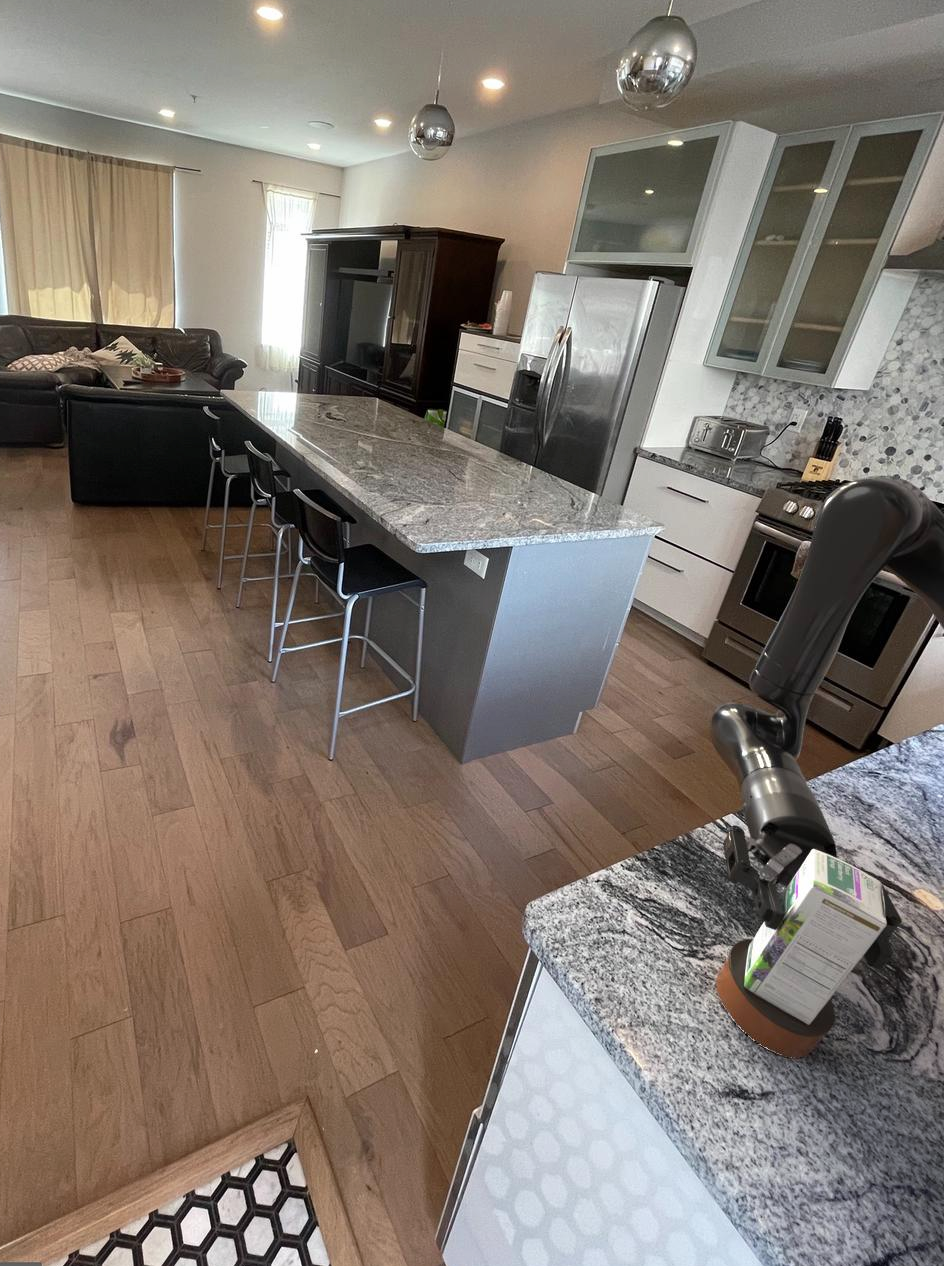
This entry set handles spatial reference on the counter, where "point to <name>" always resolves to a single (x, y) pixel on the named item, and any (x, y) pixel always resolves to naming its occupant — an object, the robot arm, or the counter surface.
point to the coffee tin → (767, 1011)
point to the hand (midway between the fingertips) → (827, 942)
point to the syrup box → (816, 936)
